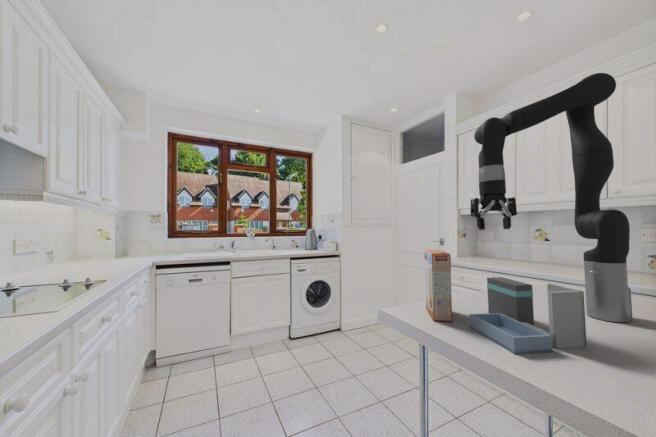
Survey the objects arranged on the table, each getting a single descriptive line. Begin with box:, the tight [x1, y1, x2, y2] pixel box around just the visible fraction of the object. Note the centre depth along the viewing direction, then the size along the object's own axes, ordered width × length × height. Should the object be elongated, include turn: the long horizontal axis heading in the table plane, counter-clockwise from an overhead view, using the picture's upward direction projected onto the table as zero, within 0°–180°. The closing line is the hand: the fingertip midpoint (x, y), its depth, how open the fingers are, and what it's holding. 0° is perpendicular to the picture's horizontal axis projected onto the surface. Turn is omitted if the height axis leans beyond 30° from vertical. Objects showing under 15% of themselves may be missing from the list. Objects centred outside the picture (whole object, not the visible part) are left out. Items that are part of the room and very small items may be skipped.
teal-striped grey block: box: [486, 276, 535, 326], centre depth 81 cm, size 5×12×12 cm, turn 5°
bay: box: [523, 283, 587, 350], centre depth 67 cm, size 8×9×13 cm
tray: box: [468, 312, 553, 355], centre depth 69 cm, size 9×17×4 cm, turn 5°
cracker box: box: [424, 249, 453, 322], centre depth 88 cm, size 14×6×21 cm, turn 168°
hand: (494, 229), depth 87 cm, fingers open, 8 cm apart
